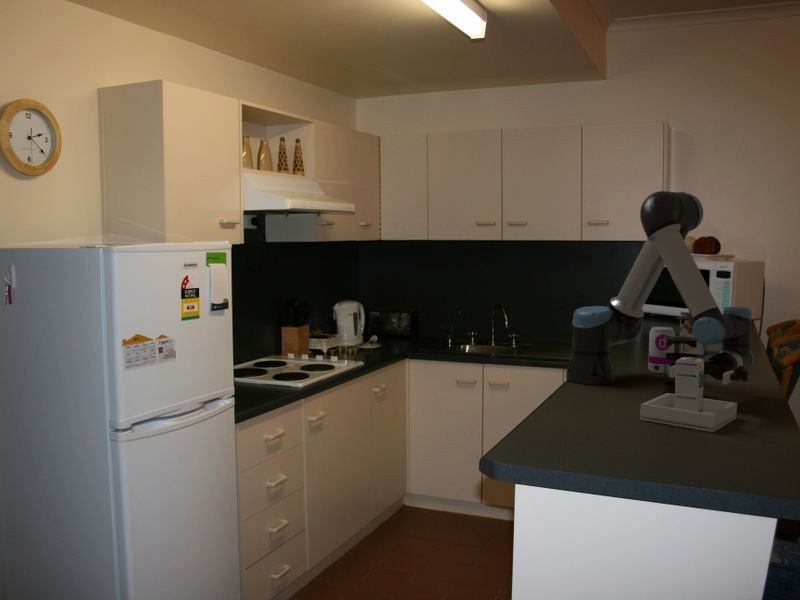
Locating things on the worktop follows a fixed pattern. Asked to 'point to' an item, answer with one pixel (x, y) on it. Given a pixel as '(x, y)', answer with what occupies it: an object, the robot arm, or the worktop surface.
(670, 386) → the french press
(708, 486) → the worktop surface
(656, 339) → the supplement can
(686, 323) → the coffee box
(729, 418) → the bin
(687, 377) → the syrup box
